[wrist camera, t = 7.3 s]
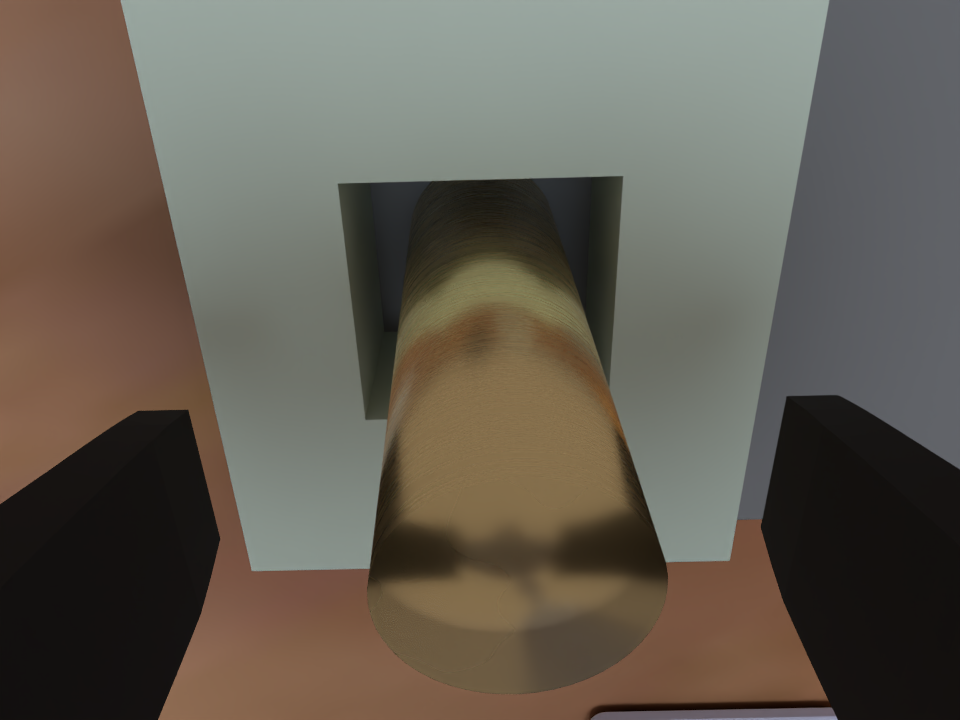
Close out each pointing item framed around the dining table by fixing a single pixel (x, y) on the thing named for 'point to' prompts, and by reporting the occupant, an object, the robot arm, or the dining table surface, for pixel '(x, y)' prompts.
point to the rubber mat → (832, 234)
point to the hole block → (475, 156)
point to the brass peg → (505, 461)
